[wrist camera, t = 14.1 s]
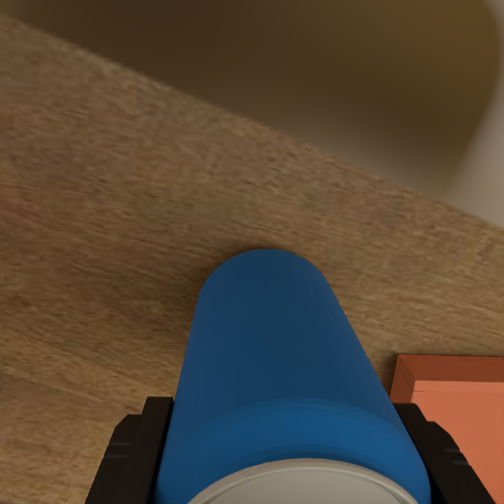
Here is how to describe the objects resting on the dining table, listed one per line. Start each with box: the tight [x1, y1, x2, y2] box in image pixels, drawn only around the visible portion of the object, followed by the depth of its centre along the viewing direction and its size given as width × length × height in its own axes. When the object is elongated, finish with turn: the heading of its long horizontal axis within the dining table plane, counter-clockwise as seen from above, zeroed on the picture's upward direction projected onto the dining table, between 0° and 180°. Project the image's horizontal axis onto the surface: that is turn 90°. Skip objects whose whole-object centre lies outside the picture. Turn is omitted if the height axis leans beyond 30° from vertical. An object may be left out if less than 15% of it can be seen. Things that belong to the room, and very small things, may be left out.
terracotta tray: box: [390, 354, 504, 504], centre depth 22 cm, size 11×11×2 cm
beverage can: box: [153, 249, 431, 504], centre depth 14 cm, size 6×6×12 cm
